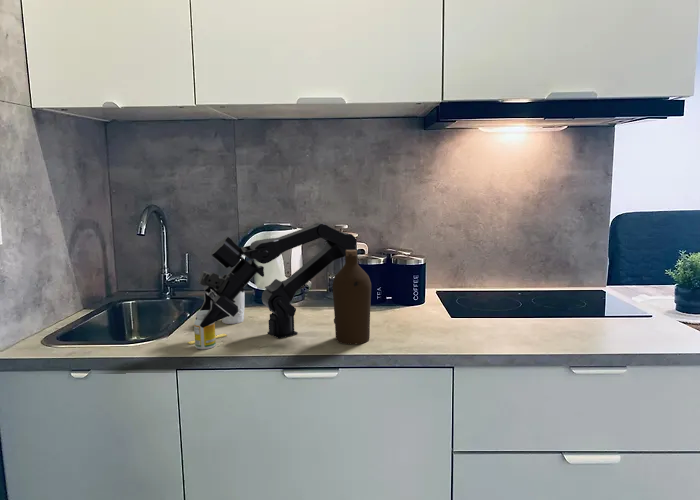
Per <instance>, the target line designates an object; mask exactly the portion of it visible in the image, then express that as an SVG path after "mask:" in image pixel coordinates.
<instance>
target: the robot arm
mask: <svg viewBox="0 0 700 500" xmlns="http://www.w3.org/2000/svg"><path fill="white" fill-rule="evenodd" d="M319 239H322V240H324V241H326V243H324V247H323V249H322V250H321V251H319V252H318V253H317V254H316V255H315V256H312V258H311V259H309V260H308V261H307V262H305V264H303V265H302V266H301V267H300V268H298V269H297V270H296V271H294V272H293V273H292V274H291V275H290V276H289V277H288V278H286V279H285V280H284V279H283V280H279V279H277V278H275V279H274V280H272V282H271V283H270V284H269V285H267V286H264V291H262V294H261V301H262V304H263V305H264V306H265V307H267V308H268V311H269V312H271V313H270V314H269V319H268V331H267V335H269V336H271V337H274V338H276V339H279V340H280V339H283V338H287V337H291V336H295V335H296V336H297V335H298V334H299V333H298V331H296V330H295V315H296V311H297V308H296V307H295V306H294V305H292V304H291V302H292V301H293V299H294V297H295V296H296V293H297V292H298V291H299V290H301V289H302V288H303V287H304V286H305V285H306V284H308V283H309V282H310V281H311V280H313V279H314V278H315V277H316V276H317V275H319V273H321V272H322V271H323V270H325V269H326V268H327V267H328V266H330V264H332V263H333V262H334V261H337V260H339V259H342V258H345V255H346V250H357V245H358V244H357V243H358V242H357V238H356V236H355V235H353V234H352V233H347V232H344V231H339V230H336V229H335V228H332V227H331V226H329V225H328V224H326V223H322V222H315V223H313V224H312V225H309V226H306V227H304V228H301V229H297V230H295V231H292V232H289V233H287V234H284V235H281V236H279V237H270V238H263V239H258V240H255V241H252V242H251V243H250V245H246V246H241V247H240V246H239V245H237V244H236V243H235V242H234V240H232V238H231V237H229V236H225V237H224V238H223V239H222V240H221V239H220V241H219V242H218V243H215V244H214V246H213V247H212V248H211V250H210V251H209V256H210V257H212V258H213V259H214V260H216V262H218V264H220V265H221V266H223V268H225V269H227V268H229V267H230V269H231V268H232V269H231V270H230V271H229V272H228V273H223V275H221V276H220V275H219V274H218V273H215V272H213V271H211V272H208V271H206V270H201V272H200V275H199V278H198V280H197V282H198V283H199V284H200V285H201V286H203V288H202V290H204V291H203V299H204V301H203V303H202V306H201V307H200V309H199V311H202V310H209V311H208V313H207V314H206V316H205V317H204V319H203V320H202V322H201V324H200V326H201V327H202V328H204V327H206V326H208V325H210V324H212V323H214V322H215V323H216V322H218V321H222V319H223V318H225V317H229V316H230V315H231V316H233V317H234V316H235V315H236V313H237V312H238V306H237V305H236V304H235V303H234V302H235V301H234V299H235V298H236V296H237V295H238V294H239V293H240V292H241V291H242V292H244V293H245V290H246V289H245V287H246V286H247V285H248V284H249V283H250V281H251V280H252V279H253V278H254V277H255V276H256V274H258V275H259V276H260V277H262V278H264V277H265V272H264V270H265V269H264V268H265V267H264V266H263V265H264V264H268V263H271V262H272V261H274V260H276V259H277V258H279V257H280V256H281V255H282V254H283V253H285V252H286V251H288V250H289V251H290V250H291V249H294V248H297V247H300V246H302V245H305V244H308V243H310V242H313V241H315V240H319ZM243 256H244V257H245V258H244V257H243ZM246 258H247V259H249V260H246ZM253 260H254V261H255V262H257V263H260V264H263V265H258V264H256V263H255V262H254V261H253ZM228 313H229V314H230V315H229V314H228ZM196 319H197V317H196V316H195V320H196Z"/></svg>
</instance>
